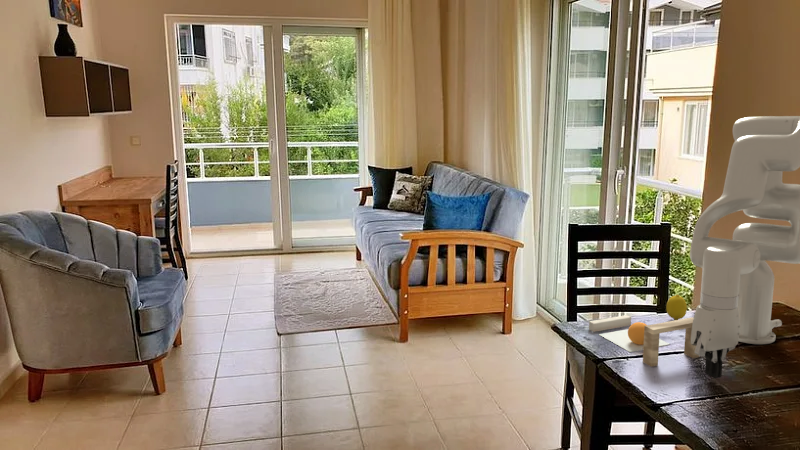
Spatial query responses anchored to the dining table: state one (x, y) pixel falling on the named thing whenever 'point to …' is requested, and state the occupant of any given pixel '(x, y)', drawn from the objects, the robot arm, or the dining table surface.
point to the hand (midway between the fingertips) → (713, 375)
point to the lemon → (676, 307)
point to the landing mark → (626, 340)
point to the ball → (637, 333)
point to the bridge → (655, 329)
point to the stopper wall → (609, 323)
